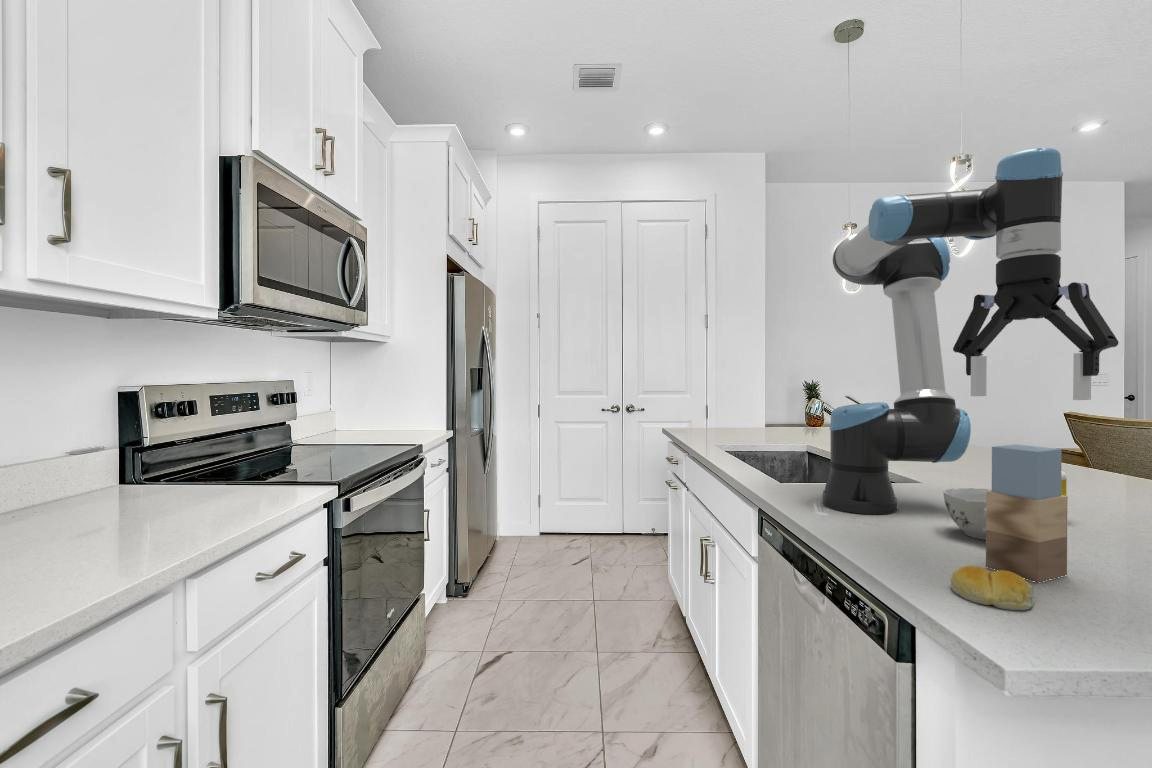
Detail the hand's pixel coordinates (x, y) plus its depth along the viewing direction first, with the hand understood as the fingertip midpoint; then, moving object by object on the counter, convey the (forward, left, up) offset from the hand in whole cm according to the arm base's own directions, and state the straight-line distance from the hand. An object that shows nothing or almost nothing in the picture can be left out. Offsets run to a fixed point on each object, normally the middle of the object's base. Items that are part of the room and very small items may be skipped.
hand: (1026, 398), depth 82 cm
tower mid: (0, 0, -21) cm, 21 cm away
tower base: (0, 0, -27) cm, 27 cm away
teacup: (-13, +12, -27) cm, 32 cm away
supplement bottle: (-16, +36, -27) cm, 48 cm away
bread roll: (+4, -14, -27) cm, 31 cm away
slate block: (0, 0, -15) cm, 15 cm away
